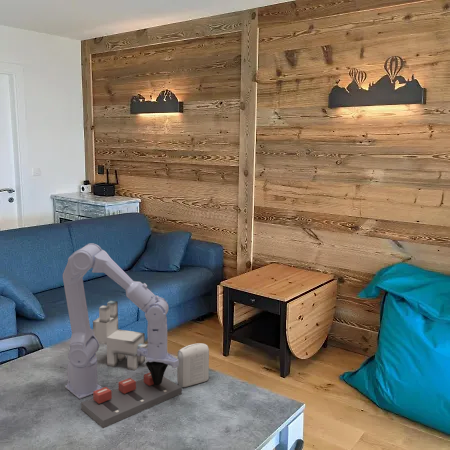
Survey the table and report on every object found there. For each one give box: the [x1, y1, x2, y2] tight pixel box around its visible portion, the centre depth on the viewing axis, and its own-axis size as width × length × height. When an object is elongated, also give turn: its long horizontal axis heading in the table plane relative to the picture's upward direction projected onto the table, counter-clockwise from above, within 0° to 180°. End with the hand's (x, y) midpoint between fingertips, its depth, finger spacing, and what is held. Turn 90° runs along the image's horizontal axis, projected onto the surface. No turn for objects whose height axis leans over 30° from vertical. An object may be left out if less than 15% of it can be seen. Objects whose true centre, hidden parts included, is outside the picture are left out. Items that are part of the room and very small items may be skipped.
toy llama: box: [92, 300, 148, 372], centre depth 161 cm, size 8×18×20 cm, turn 72°
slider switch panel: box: [80, 376, 183, 429], centre depth 139 cm, size 12×26×2 cm, turn 134°
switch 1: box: [92, 386, 113, 404], centre depth 135 cm, size 3×4×2 cm
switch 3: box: [143, 372, 154, 386], centre depth 145 cm, size 3×4×2 cm
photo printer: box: [176, 342, 210, 388], centre depth 150 cm, size 10×4×12 cm, turn 123°
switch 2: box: [117, 377, 136, 394], centre depth 141 cm, size 3×4×2 cm
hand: (157, 383), depth 143 cm, fingers closed
